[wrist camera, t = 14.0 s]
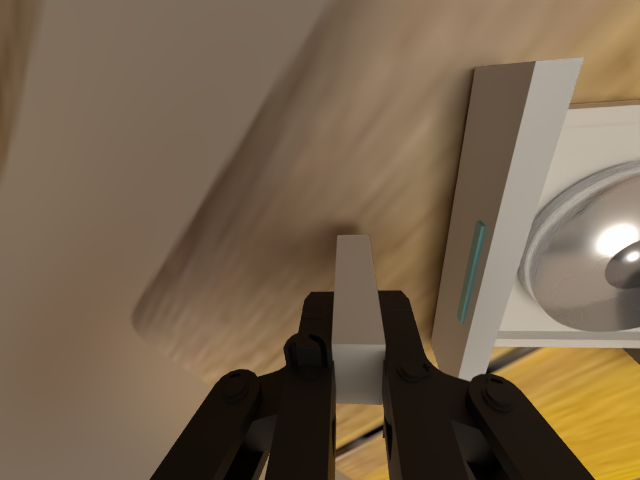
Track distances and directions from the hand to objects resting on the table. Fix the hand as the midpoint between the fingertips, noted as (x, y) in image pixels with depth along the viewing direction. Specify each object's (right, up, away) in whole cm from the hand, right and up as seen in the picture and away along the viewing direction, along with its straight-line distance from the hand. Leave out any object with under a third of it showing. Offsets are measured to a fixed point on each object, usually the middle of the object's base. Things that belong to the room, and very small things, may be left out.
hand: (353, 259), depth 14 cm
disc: (+12, +1, -1) cm, 12 cm away
